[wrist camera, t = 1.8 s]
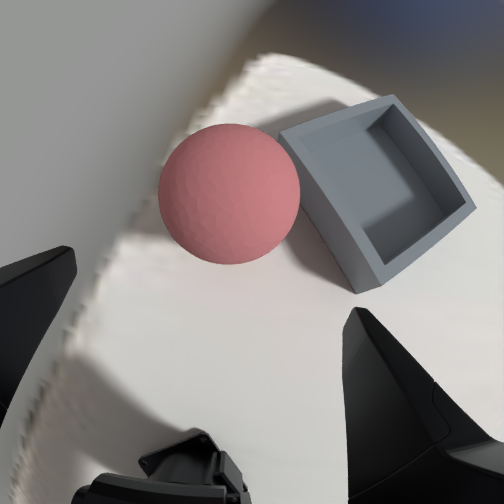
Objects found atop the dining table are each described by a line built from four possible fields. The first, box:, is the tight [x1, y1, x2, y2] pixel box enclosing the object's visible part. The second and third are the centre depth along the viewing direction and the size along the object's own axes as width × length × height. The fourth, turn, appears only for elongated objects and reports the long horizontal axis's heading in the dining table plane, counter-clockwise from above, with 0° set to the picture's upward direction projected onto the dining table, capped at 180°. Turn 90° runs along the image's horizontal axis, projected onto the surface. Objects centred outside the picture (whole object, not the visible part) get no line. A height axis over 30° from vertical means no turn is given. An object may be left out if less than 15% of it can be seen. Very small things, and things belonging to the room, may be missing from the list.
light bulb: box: [158, 124, 300, 265], centre depth 17 cm, size 7×7×12 cm
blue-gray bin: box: [278, 94, 477, 294], centre depth 23 cm, size 13×13×4 cm
